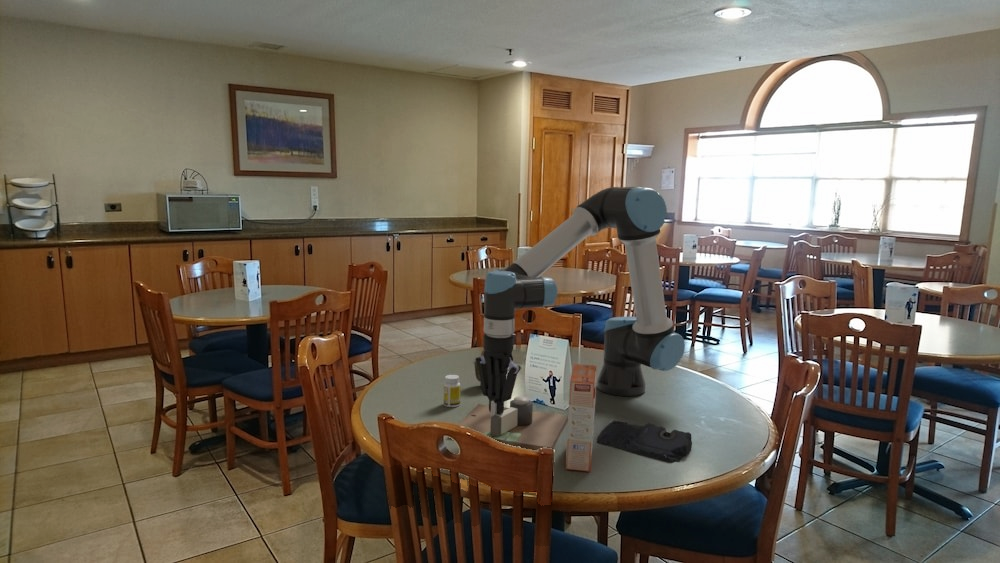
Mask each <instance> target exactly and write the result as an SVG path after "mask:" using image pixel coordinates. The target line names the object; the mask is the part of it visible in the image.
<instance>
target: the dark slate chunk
mask: <svg viewBox="0 0 1000 563" xmlns="http://www.w3.org/2000/svg"><path fill="white" fill-rule="evenodd" d="M596 443H597V444H599V445H603V446H607V447H610V448H613V449H616V450H619V451H620V450H621V451H624V452H627V453H631V454H635V455H638V456H643V457H647V458H651V459H654V460H658V461H662V462H666V463H669V464H672V463H673V462H674V463H677V462H678V463H680V461H681V460H682V459H683V457H687V456H688V454H690V452H691V451H692V445H693V440H692V433H691V432H689V431H687V432H685V431H680V430H677V429H673V430H672V431H671V432H668V431H667V428H666V426H661V425H659V426H657V425H655V424H654V423H650V422H649V423H645V424H644V425H637V424H632V423H628V422H626V421H621V420H617V419H614V420H612V421H611V422H610V423H608V424H607V425H606V426H605V427H604V428H603V429H602V430H601V431H600V433H599V435H598V436H597V439H596Z"/></svg>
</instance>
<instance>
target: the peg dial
mask: <svg viewBox="0 0 1000 563" xmlns="http://www.w3.org/2000/svg"><path fill="white" fill-rule="evenodd" d="M533 405H534V403H533V401H532V400H530V398H528V397H526V396H516V397H514V398H513V399H512V400H509V407H507V408H508V409H506V410H504V412H503V413H502V414H500V415H499V414H496V415H493V416H491V431H490V435H492V436H496V437H498V436H500V435H502V434H503V433H505V432H507V431H509V430H511V429H512V428H514V427H516V426H517V425H528V424H531V423H532V415H533V411H534V406H533Z"/></svg>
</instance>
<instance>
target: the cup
mask: <svg viewBox="0 0 1000 563" xmlns="http://www.w3.org/2000/svg"><path fill="white" fill-rule="evenodd" d="M474 372H475V378H476V380H477V381H478V382H479V385H480V387H481V388H482V386H481V380H480V374H479V367H478V365H477V362H476V360H475V361H474Z"/></svg>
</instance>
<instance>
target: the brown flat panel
mask: <svg viewBox="0 0 1000 563" xmlns="http://www.w3.org/2000/svg"><path fill="white" fill-rule="evenodd" d="M508 408H509V407H507V406H506V407H505V406H504V410H506V409H508ZM490 420H491V412H490V411H489V404H481V403H477V405H476V406H475V407H473V409H472V410H470V412H468V413H467V415H466V416H465V417H464V418H463V419H462V420H461V421H460V422H459V423H458V424H459V425H461V426H465V427H469V428H471V429H474V430H476V431H479V432H481V433H483V434H485V435H487V436H489V437H491V438H493V439H495V440H497V441H499V442H502V443H505V444H509V445H513V446H520V447H525V448H524V449H526V448H529V449H528V450H532V449H539V448H543V447H547V448H553V449H554V448H555V447H556V444H557V442H558V441H559V438H560V436H561V434H562V432H563V431H564V428H565V427H566V425H567V424H568V414H567V415H566V414H561V413H560V414H558V413H553V412H552V413H550V412H546V411H545V412H543V411H536V410H533V415H532V423H531V424H528V425H517V426H516V427H514V428H512V429H511V430H509V431H507V432H505V433H503V434H502V435H500V436H498V437H496V436H492V435H490V431H491V426H490Z"/></svg>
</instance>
